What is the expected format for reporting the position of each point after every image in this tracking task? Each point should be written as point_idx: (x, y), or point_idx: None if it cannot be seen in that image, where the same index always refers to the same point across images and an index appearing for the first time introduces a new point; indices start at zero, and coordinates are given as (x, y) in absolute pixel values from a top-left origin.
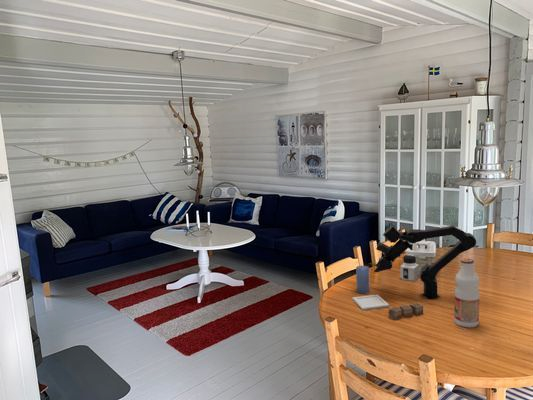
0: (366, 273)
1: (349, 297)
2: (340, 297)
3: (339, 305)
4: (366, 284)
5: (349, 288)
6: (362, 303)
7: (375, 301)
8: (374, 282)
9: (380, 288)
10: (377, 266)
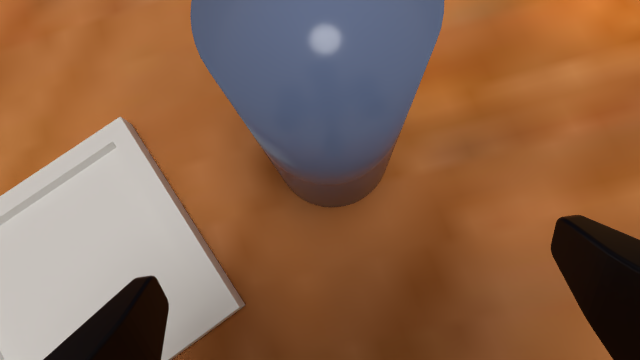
0: (251, 127)
1: (172, 89)
2: (156, 31)
3: (11, 70)
4: (282, 172)
5: None
6: (48, 219)
7: None
8: (602, 193)
9: (464, 286)
10: (557, 263)
